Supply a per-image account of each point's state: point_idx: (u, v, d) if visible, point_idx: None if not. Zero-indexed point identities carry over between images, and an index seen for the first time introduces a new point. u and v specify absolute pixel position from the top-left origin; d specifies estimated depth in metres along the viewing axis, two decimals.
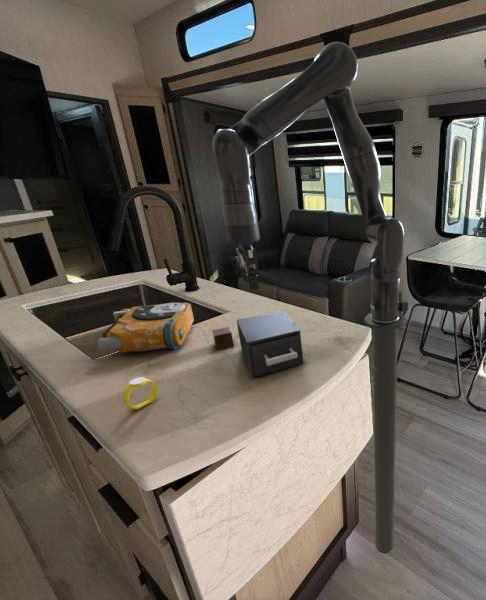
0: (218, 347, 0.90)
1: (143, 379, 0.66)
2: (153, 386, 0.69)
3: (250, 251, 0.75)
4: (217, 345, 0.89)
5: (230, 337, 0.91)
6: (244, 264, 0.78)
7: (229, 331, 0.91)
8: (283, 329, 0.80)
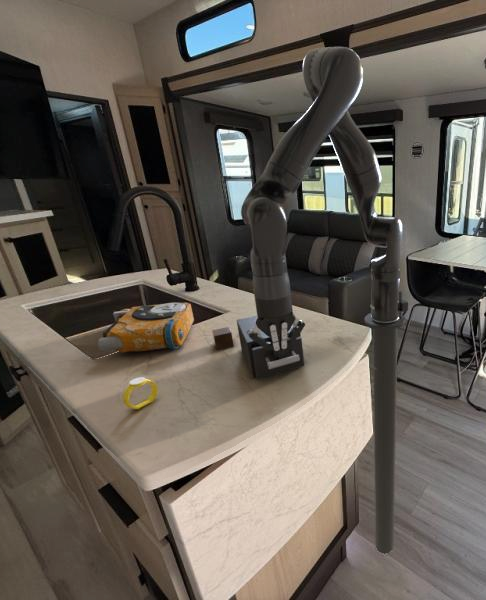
0: (218, 347, 0.90)
1: (143, 379, 0.66)
2: (153, 386, 0.69)
3: None
4: (217, 345, 0.89)
5: (230, 337, 0.91)
6: None
7: (229, 331, 0.91)
8: None
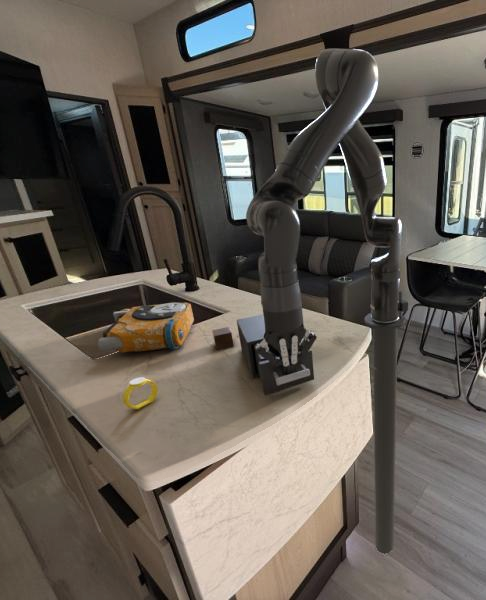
0: (218, 347, 0.90)
1: (143, 379, 0.66)
2: (153, 386, 0.69)
3: (256, 350, 0.63)
4: (217, 345, 0.89)
5: (230, 337, 0.91)
6: (278, 350, 0.67)
7: (229, 331, 0.91)
8: None
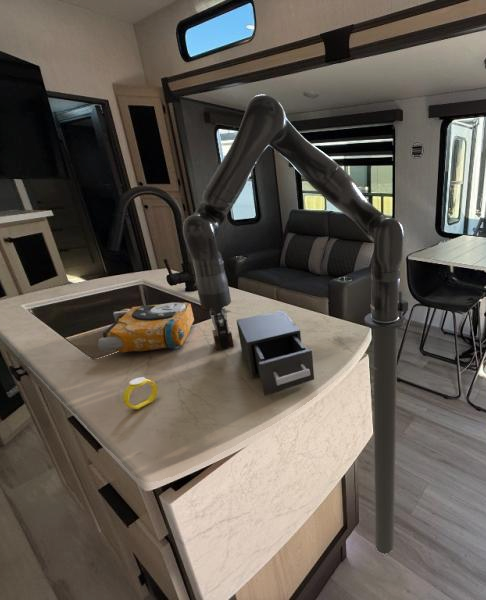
0: (218, 347, 0.90)
1: (143, 379, 0.66)
2: (153, 386, 0.69)
3: (221, 321, 0.84)
4: (217, 345, 0.89)
5: (230, 337, 0.91)
6: (216, 328, 0.87)
7: (229, 331, 0.91)
8: (283, 329, 0.80)
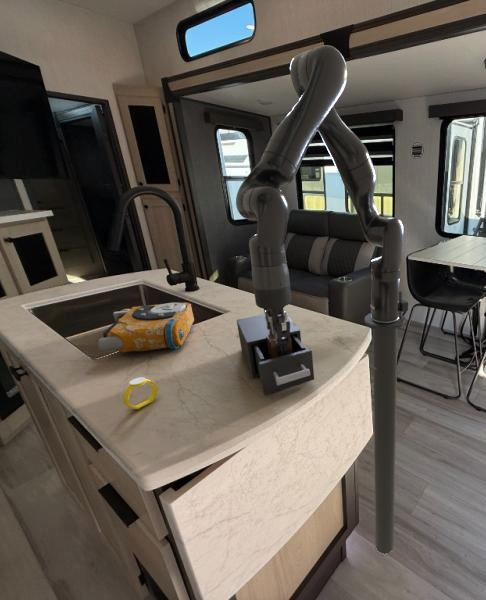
0: (275, 357, 0.72)
1: (143, 379, 0.66)
2: (153, 386, 0.69)
3: (284, 325, 0.66)
4: (274, 354, 0.71)
5: (289, 344, 0.72)
6: (274, 333, 0.69)
7: None
8: None
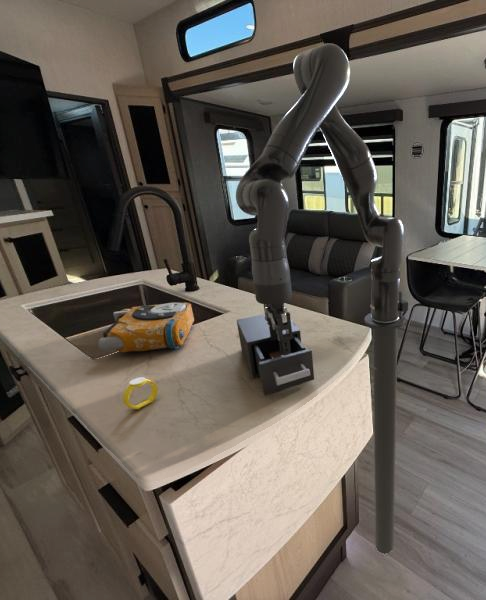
0: None
1: (143, 379, 0.66)
2: (153, 386, 0.69)
3: (284, 315, 0.64)
4: None
5: None
6: (275, 327, 0.67)
7: None
8: None
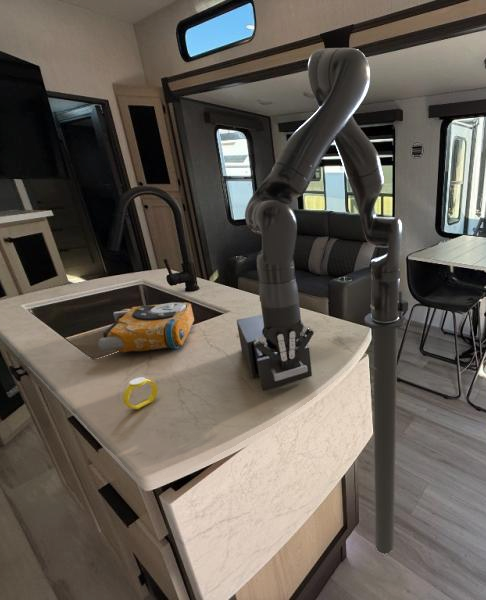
0: None
1: (143, 379, 0.66)
2: (153, 386, 0.69)
3: None
4: None
5: None
6: (276, 346, 0.69)
7: None
8: None
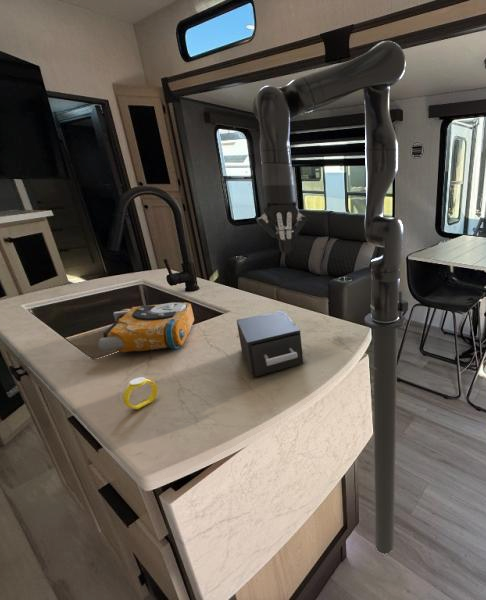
0: None
1: (143, 379, 0.66)
2: (153, 386, 0.69)
3: (257, 221, 0.78)
4: None
5: None
6: (276, 228, 0.82)
7: None
8: (283, 329, 0.80)
